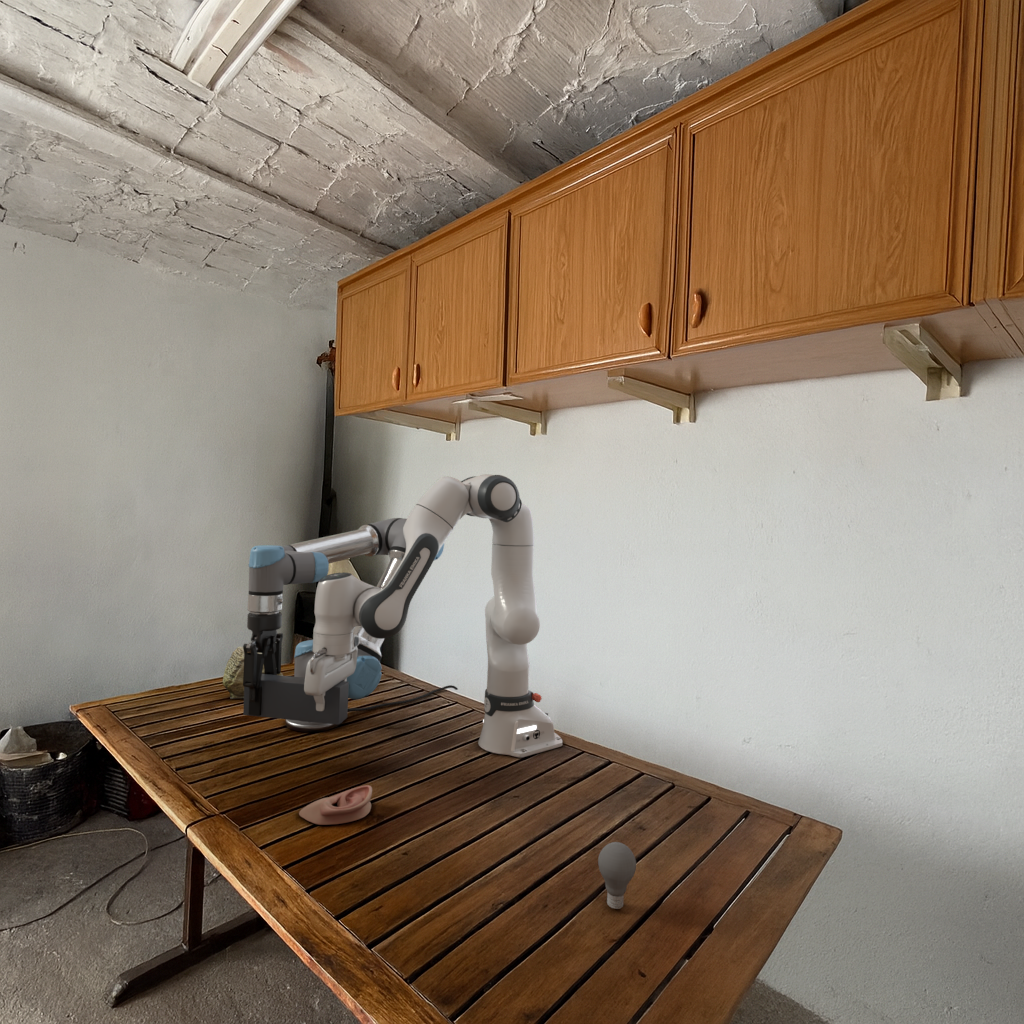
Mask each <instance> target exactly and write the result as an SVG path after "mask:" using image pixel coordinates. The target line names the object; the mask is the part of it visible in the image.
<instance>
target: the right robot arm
mask: <svg viewBox="0 0 1024 1024" xmlns="http://www.w3.org/2000/svg"><path fill="white" fill-rule="evenodd" d="M521 499H522V498H521V497H520V492H519V489H518V487H517V484H515V482H514V481H513V480H512V479H510V478H509V477H508V476H505V475H501V474H480V475H477V476H476V475H475V476H474V475H473V476H469V477H467V478H465V479H463V480H459V479H458V478H455V477H453V476H442V477H439V478H438V479H437V480H436V481H435V482H434V483H433V484H431V486H430V487H428V489H426V491H425V492H424V493H423V495H422V496H421V497H420V498H419V499H418V500H417V502H416V503H415V505H414V506H413V508H412V509H411V511H410V512H409V514H408V515H407V517H406V519H407V520H406V522H405V524H404V527H403V534H404V538H405V541H406V552H405V555H404V558H403V560H402V561H401V563H400V565H399V566H398V568H397V570H396V571H395V573H394V575H393V576H392V578H391V579H390V581H389V583H388V584H387V586H386V587H385V588H383V589H381V588H379V587H377V585H376V586H375V585H373V584H369V583H367V582H365V581H363V580H361V579H359V578H357V577H356V576H355V575H353V573H351V572H345V571H344V572H343V571H342V572H334V573H330V574H329V573H328V574H327V576H324V577H323V578H322V579H321V580H320V581H318V583H317V587H316V591H315V596H314V597H315V598H314V610H313V612H314V616H315V623H314V627H313V631H312V632H313V634H312V638H313V639H312V640H313V652H314V654H313V657H312V659H310V660H309V662H308V664H307V668H306V674H305V683H304V691H305V693H306V694H307V695H314V699H315V702H316V710H317V711H323V710H325V709H326V702H325V699H324V696H325V692H326V691H327V690H329V689H330V688H332V687H333V686H335V685H337V684H338V683H340V682H341V681H347V677H349V676H350V675H352V674H353V673H354V671H355V669H356V663H357V653H358V648H357V646H358V645H359V643H360V637H359V636H356V635H354V634H353V630H354V628H355V627H356V626H362V627H363V629H364V630H365V631H366V632H367V633H368V634H369V635H370V636H372V637H374V638H379V639H384V638H385V639H388V638H391V637H393V636H395V635H397V634H398V633H399V632H400V631H402V629H403V627H404V626H405V623H406V621H407V619H408V613H409V609H410V608H409V607H410V604H411V602H412V599H413V598H414V596H415V594H416V593H417V591H418V589H419V587H420V585H421V584H422V582H423V580H424V579H425V577H426V575H427V573H428V572H429V570H430V569H431V567H432V565H433V563H434V561H435V560H434V559H435V557H436V555H437V554H438V552H439V550H440V548H441V547H442V545H443V544H444V545H445V543H446V541H447V539H448V538H449V537H450V535H451V534H452V532H453V530H454V529H455V528H456V526H457V525H458V523H459V521H460V520H461V519H462V518H463V517H464V516H469V517H475V518H480V519H488V520H489V522H490V524H491V528H492V529H491V530H492V540H491V542H492V543H491V565H490V566H491V569H490V574H491V579H492V586H493V596H492V597H491V598H489V599H488V600H487V602H486V605H485V606H484V619H485V637H486V638H485V640H486V652H487V670H486V671H487V672H486V673H487V674H486V689H485V690H484V699H483V712H484V717H483V719H482V727H481V731H480V736H479V739H478V741H477V744H478V746H479V747H480V748H481V749H482V750H484V751H486V752H490V753H493V754H498V755H507V756H512V757H515V758H525V757H529V756H532V755H536V754H539V753H543V752H546V751H550V750H555V749H557V748H561V747H563V739H562V737H561V736H560V735H559V734H558V733H556V732H555V726H554V723H553V720H552V718H551V717H550V716H549V712H545V711H543V710H542V709H541V708H539V707H538V706H537V705H535V702H536V703H540V702H541V701H542V699H543V698H542V696H541V694H539V693H537V692H535V693H534V692H533V691H531V690H530V666H531V664H530V662H531V661H530V658H529V653H528V644H529V643H531V642H532V641H534V640H535V638H537V636H538V634H539V631H540V629H541V628H540V627H541V623H540V618H539V613H538V605H537V596H536V586H535V579H534V577H535V575H534V564H535V563H534V561H535V560H534V559H535V558H534V557H535V527H534V519H533V512H532V510H531V509H530V507H529V506H528V505H526V504H524V503H523V502H522V500H521ZM385 639H384V640H385Z"/></svg>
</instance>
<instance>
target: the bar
mask: <svg viewBox="0 0 1024 1024" xmlns="http://www.w3.org/2000/svg"><path fill="white" fill-rule="evenodd" d="M304 683H305V678H303V677H294V676H293V675H292V676H290V675H283V676H281V675H270V674H262V676H261V682H260V687H262V705H261V715H260V716H256V715H249V687H244V698H243V709H242V710H243V711H242V713H243V714H242V715H243V716H251V717H258V718H259V717H260V718H268V719H280V720H286V719H288V720H298V721H307V722H317V723H327V724H337V725H339V724H340V723H341V722H342V721H343V722H344V721H345V720H346V719H347V718H348V716H349V715H348V714H349V713H348V712H349V711H348V708H349V698H348V689H349V682H347V681H341V682H340V683H338V684H337V685H335V686H333V687H332V688H330V689H329V690H327V691H326V692H325V696H324V699H325V702H326V709H325V710H323V711H317V710H316V702H315V699H314V695H307V694H306V693H305V691H304ZM343 722H342V723H343ZM342 723H341V724H342ZM341 724H340V725H341ZM340 725H339V726H340Z"/></svg>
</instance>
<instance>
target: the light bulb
mask: <svg viewBox="0 0 1024 1024" xmlns="http://www.w3.org/2000/svg"><path fill="white" fill-rule="evenodd" d="M597 859H598V860H597V865H598V870H599V872H600V875H601V876H602V878H603V880H604V885H605V889H606V892H607V897H606V903H607V906H609V907H610V908H611V909H616V910H619V909H622V908H623V907H624V898H625V897H624V896H625V894H626V891H627V888H628V885H629V883H630V882H631V880H632V879H633V878H634V876H635V873H636V871H637V860H636V856H635V854H634V853H633V851H632V849H630V847H629V846H627V844H624V843H622V842H619V841H613V842H610V843H607V844H606V845H604V847H602V849H601V850H600V852H599V854H598V858H597Z"/></svg>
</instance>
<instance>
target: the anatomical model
mask: <svg viewBox="0 0 1024 1024" xmlns="http://www.w3.org/2000/svg"><path fill="white" fill-rule="evenodd" d="M372 795H373V787H372V786H371V785H369V784H367V785H366V784H365V785H361V786H356V787H354V788H351V789H350V788H349V789H347V790H345V791H341V792H340V793H337V794H334V795H332V796H329V797H328V796H327V797H323V798H320V799H317V800H315V801H313V802H311V803H309V804H307V805H306V806H304V807H303V808H301V809H300V810H299V812H298V815H299V817H300V818H302V819H304V820H306V821H307V822H310V823H311V824H315V825H319V826H328V825H339V824H346V823H351V822H354V821H357V820H361V819H363V818H365V817H366V816H367V815H368V814H369V813H370V812H371V809H372V803H371V798H372V797H373V796H372Z"/></svg>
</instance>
